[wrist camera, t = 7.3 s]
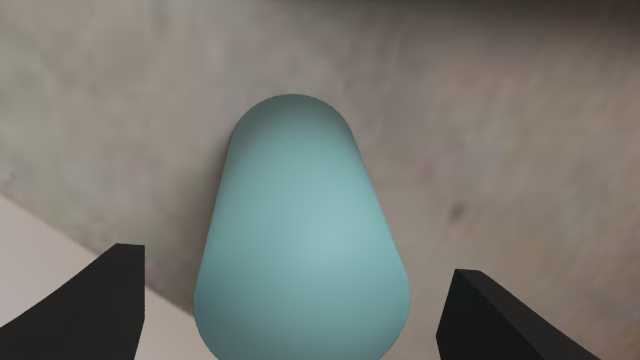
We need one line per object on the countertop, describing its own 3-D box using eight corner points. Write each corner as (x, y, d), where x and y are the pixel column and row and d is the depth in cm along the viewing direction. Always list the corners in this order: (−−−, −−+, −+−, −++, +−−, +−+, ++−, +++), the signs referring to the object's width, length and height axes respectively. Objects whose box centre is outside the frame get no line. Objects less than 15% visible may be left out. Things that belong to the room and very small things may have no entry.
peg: (365, 102, 19) (431, 223, 11) (344, 216, 21) (387, 392, 13) (233, 86, 18) (198, 202, 10) (224, 206, 20) (189, 383, 12)
